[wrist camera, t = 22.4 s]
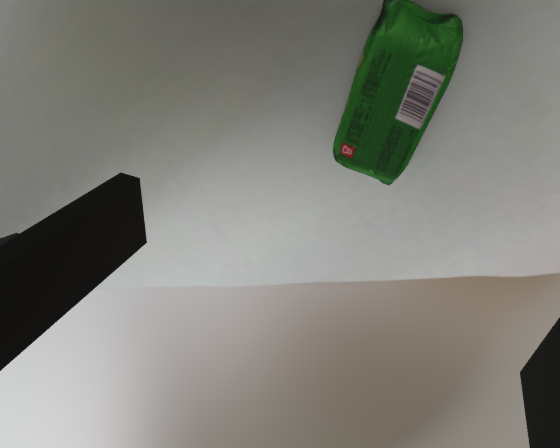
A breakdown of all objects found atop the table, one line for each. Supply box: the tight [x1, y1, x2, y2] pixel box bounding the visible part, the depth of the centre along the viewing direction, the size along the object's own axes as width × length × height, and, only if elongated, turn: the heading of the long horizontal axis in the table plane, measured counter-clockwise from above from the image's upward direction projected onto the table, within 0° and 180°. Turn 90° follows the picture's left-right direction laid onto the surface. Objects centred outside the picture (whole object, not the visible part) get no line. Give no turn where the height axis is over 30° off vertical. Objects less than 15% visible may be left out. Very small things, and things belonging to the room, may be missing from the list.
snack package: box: [333, 0, 463, 185], centre depth 34 cm, size 7×16×5 cm, turn 166°
